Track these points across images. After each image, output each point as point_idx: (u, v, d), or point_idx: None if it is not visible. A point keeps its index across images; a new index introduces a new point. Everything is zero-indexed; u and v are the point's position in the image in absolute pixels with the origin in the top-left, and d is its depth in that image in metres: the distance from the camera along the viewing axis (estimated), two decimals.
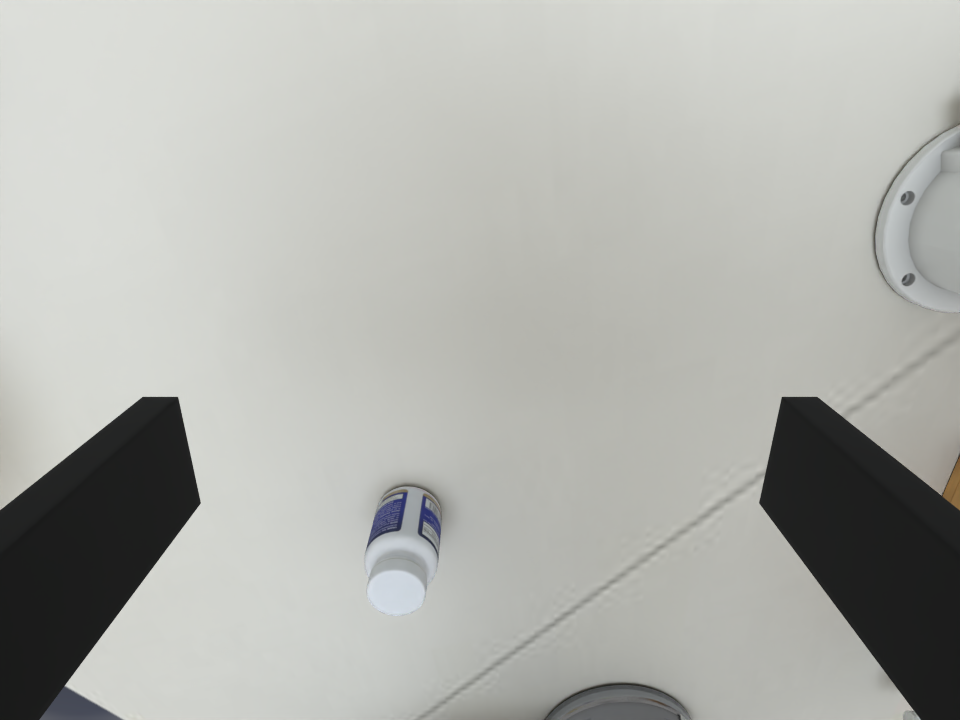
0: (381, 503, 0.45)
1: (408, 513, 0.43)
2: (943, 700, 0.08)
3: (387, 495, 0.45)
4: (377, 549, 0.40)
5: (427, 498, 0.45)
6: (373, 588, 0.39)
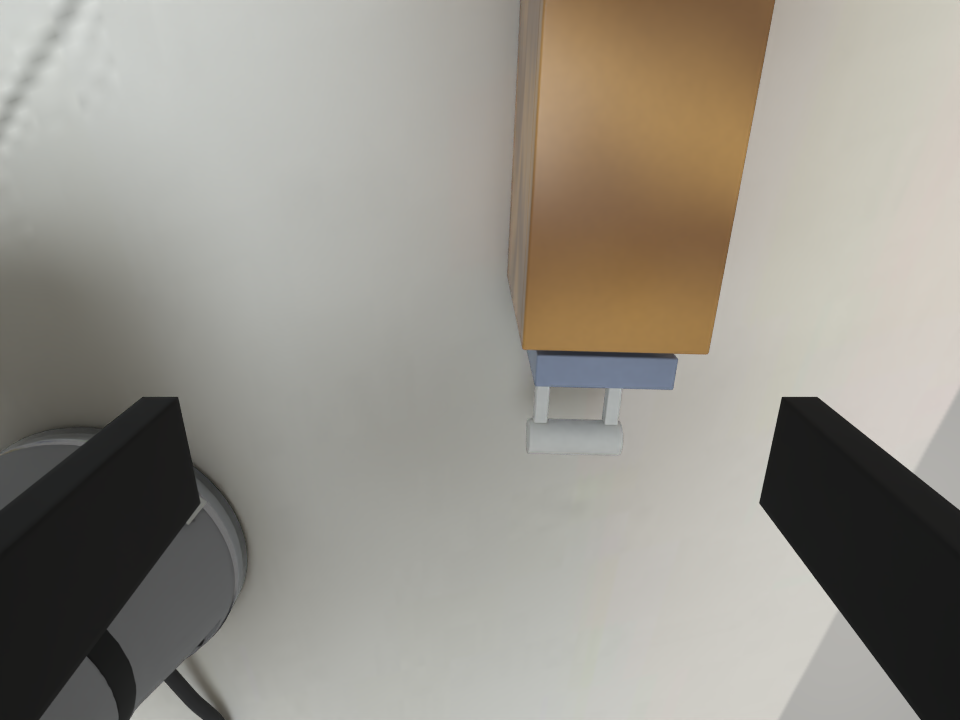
0: None
1: None
2: (943, 700, 0.08)
3: None
4: None
5: None
6: None
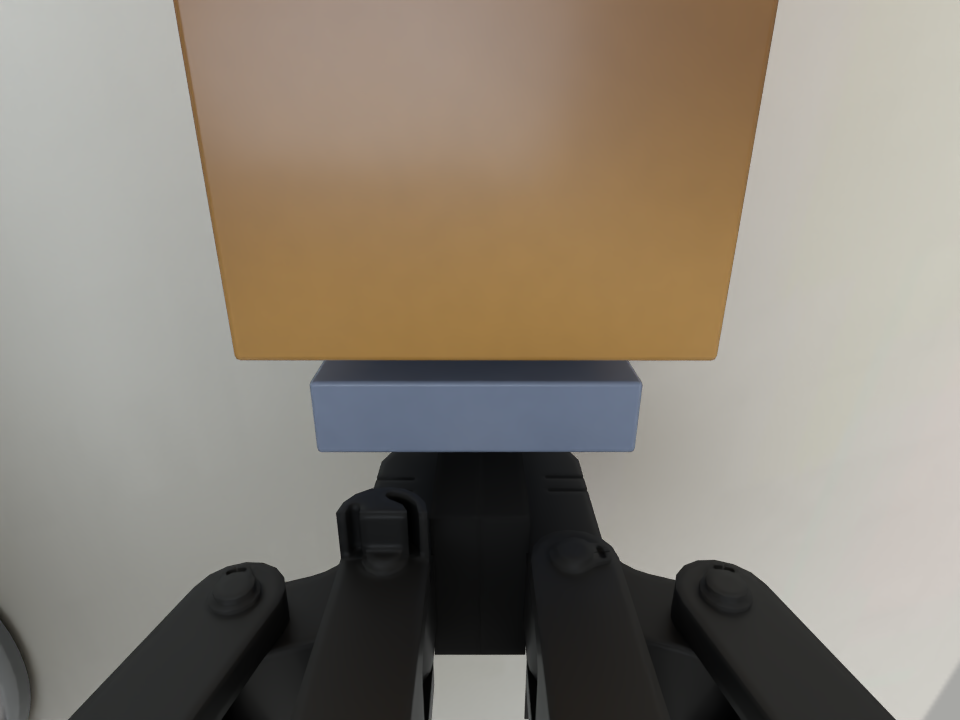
0: None
1: None
2: None
3: None
4: None
5: None
6: None
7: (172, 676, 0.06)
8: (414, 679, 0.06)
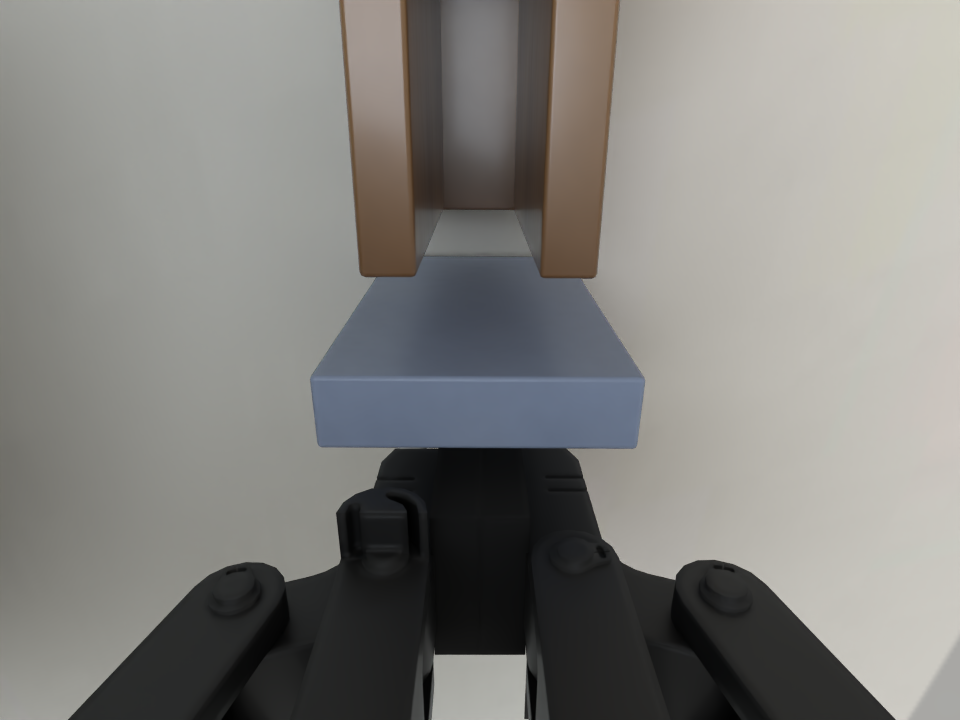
0: None
1: None
2: None
3: None
4: None
5: None
6: None
7: (172, 675, 0.06)
8: (414, 679, 0.06)
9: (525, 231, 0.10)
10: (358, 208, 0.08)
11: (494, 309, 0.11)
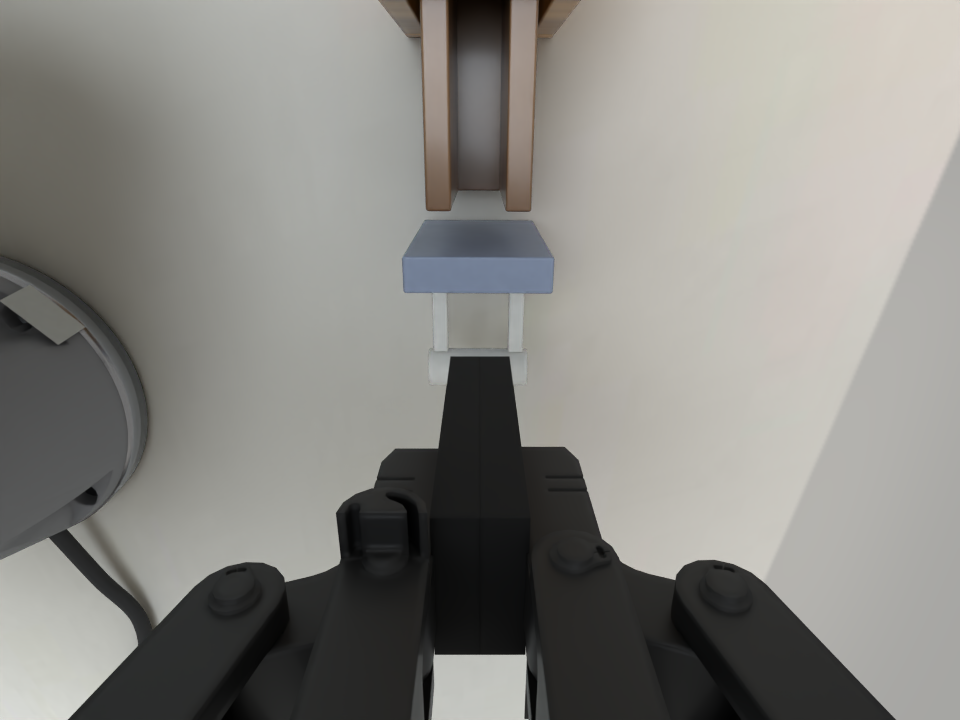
0: None
1: None
2: None
3: None
4: None
5: None
6: None
7: (172, 675, 0.06)
8: (414, 679, 0.06)
9: (502, 196, 0.21)
10: (427, 179, 0.18)
11: (487, 239, 0.21)
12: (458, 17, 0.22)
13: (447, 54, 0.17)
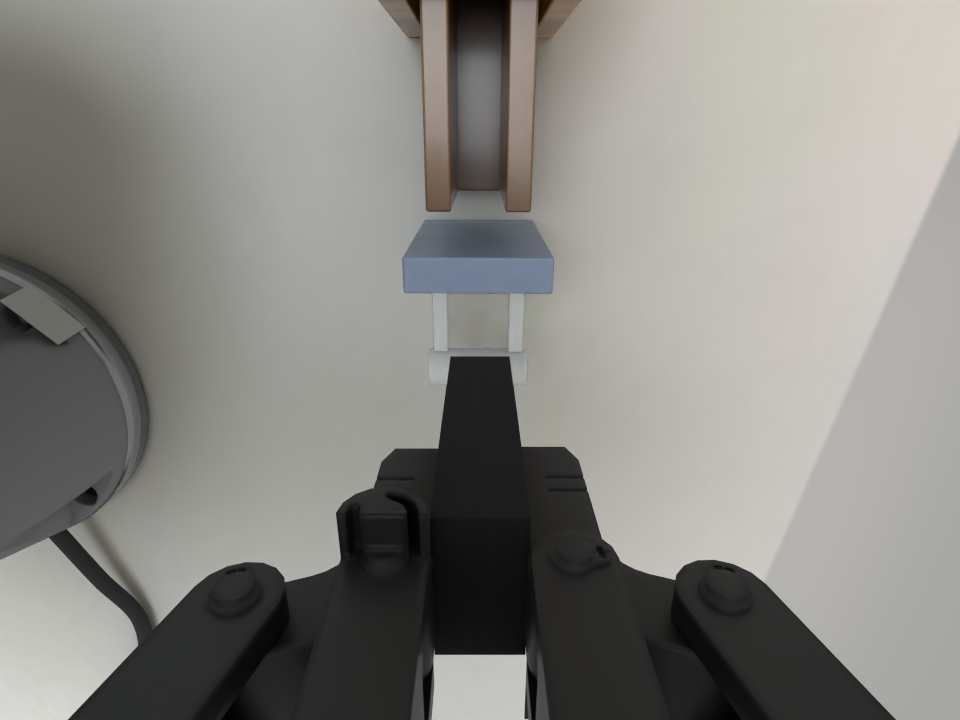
0: None
1: None
2: None
3: None
4: None
5: None
6: None
7: (172, 675, 0.06)
8: (414, 679, 0.06)
9: (502, 196, 0.21)
10: (427, 180, 0.18)
11: (487, 239, 0.21)
12: (458, 17, 0.22)
13: (447, 55, 0.17)
